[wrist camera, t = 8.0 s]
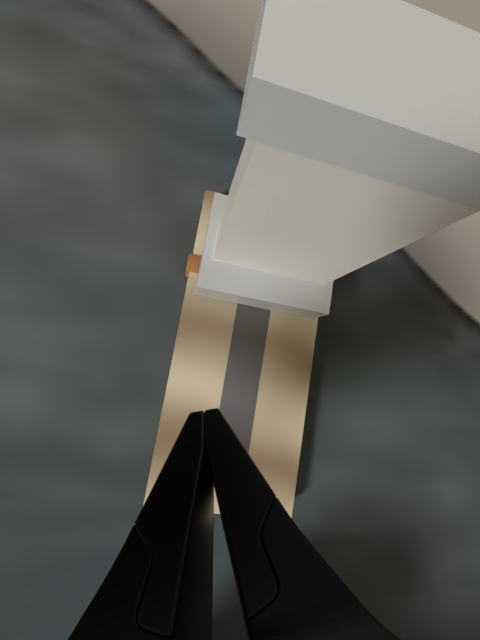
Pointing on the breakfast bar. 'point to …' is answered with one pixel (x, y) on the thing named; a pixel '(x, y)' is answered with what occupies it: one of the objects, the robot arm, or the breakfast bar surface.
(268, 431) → the fader console
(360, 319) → the breakfast bar surface
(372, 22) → the fader tab
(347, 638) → the robot arm
